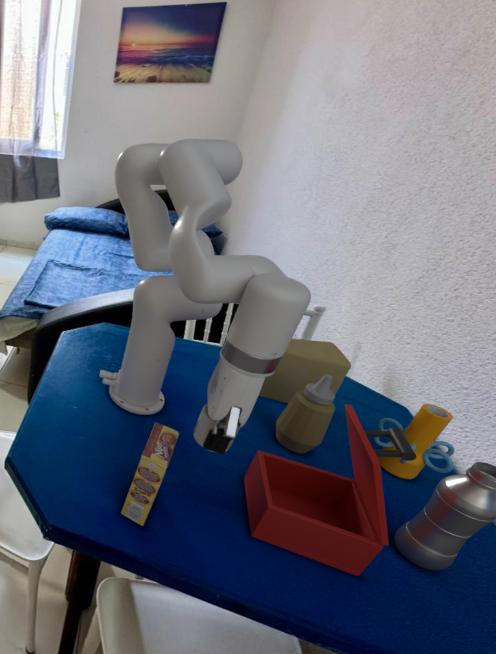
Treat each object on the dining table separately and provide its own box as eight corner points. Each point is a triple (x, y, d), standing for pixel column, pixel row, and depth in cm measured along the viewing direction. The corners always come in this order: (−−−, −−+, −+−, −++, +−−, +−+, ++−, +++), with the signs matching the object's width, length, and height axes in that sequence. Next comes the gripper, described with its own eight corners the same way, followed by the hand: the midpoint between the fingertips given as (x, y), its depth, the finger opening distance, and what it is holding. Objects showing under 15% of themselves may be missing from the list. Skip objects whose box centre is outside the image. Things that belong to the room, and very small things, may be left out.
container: (193, 445, 70) (203, 420, 67) (193, 422, 74) (203, 398, 71) (230, 457, 68) (243, 432, 65) (228, 433, 72) (240, 409, 69)
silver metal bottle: (378, 536, 69) (445, 454, 59) (414, 534, 69) (487, 452, 60) (416, 577, 63) (498, 494, 53) (455, 574, 64) (543, 491, 54)
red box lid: (372, 463, 55) (428, 464, 52) (344, 404, 65) (390, 403, 62) (381, 545, 59) (434, 550, 56) (354, 478, 69) (397, 480, 66)
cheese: (220, 396, 98) (241, 346, 91) (212, 372, 107) (230, 324, 100) (325, 416, 94) (355, 364, 86) (307, 389, 102) (334, 339, 95)
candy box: (145, 528, 69) (167, 467, 61) (120, 514, 71) (138, 454, 63) (158, 491, 75) (180, 431, 68) (135, 479, 77) (153, 420, 70)
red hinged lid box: (251, 536, 68) (268, 506, 64) (243, 478, 78) (258, 449, 74) (358, 576, 63) (383, 547, 59) (335, 508, 73) (356, 480, 69)
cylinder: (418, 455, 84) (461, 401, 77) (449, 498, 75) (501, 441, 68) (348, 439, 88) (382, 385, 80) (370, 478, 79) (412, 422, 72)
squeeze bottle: (323, 461, 82) (365, 393, 74) (279, 454, 83) (316, 386, 75) (303, 432, 89) (340, 366, 80) (263, 425, 90) (295, 360, 82)
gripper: (220, 320, 70) (190, 398, 79) (225, 380, 56) (188, 466, 65) (270, 331, 67) (233, 410, 76) (288, 397, 53) (240, 484, 63)
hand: (212, 435), depth 71 cm, fingers closed on container, 5 cm apart
